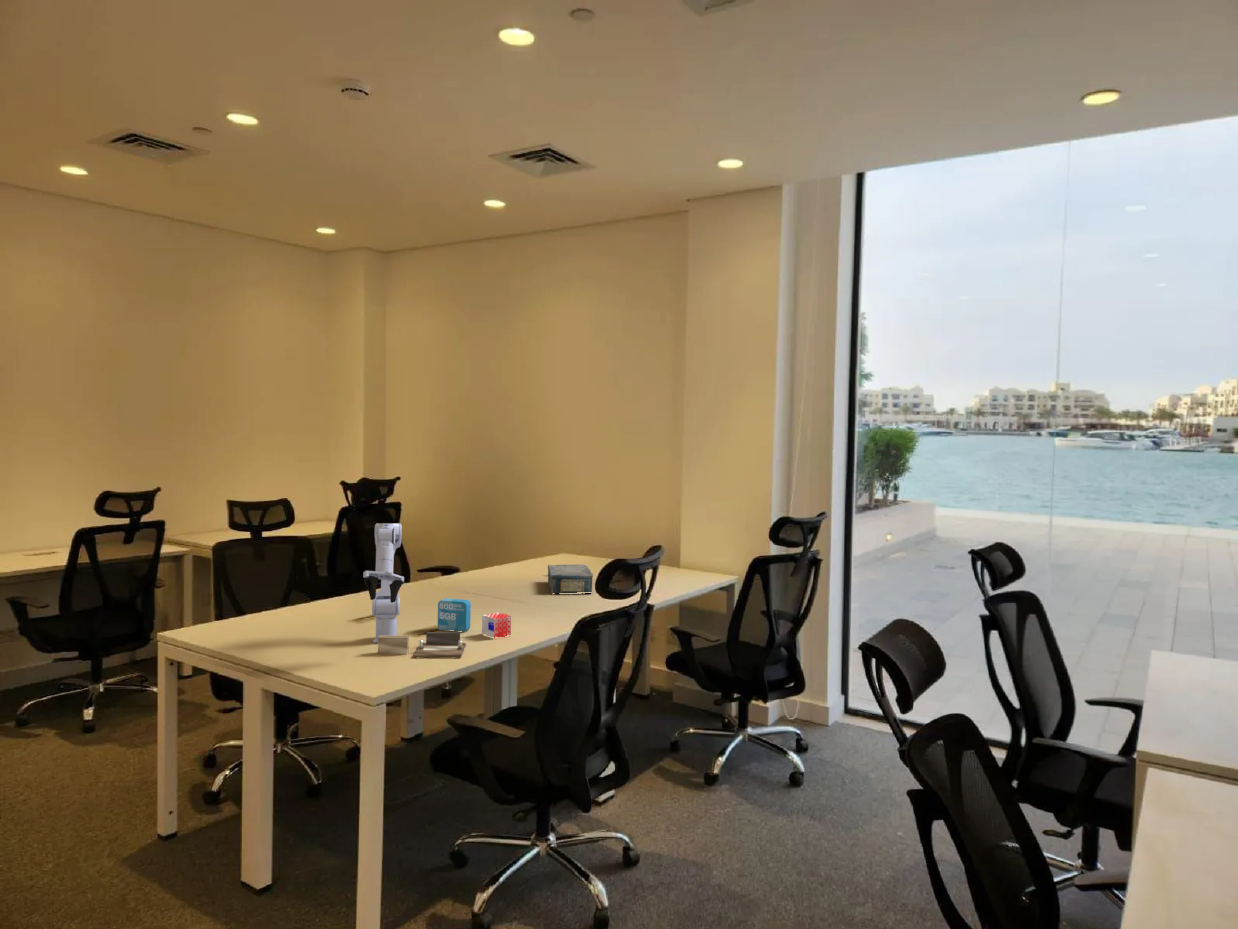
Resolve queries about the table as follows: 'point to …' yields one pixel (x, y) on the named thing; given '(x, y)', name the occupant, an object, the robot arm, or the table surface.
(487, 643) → the table surface
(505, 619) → the puzzle cube
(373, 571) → the robot arm
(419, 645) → the hinge pins
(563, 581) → the metal box
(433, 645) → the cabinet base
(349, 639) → the table surface
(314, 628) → the table surface
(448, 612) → the data package
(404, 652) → the beige wooden block
